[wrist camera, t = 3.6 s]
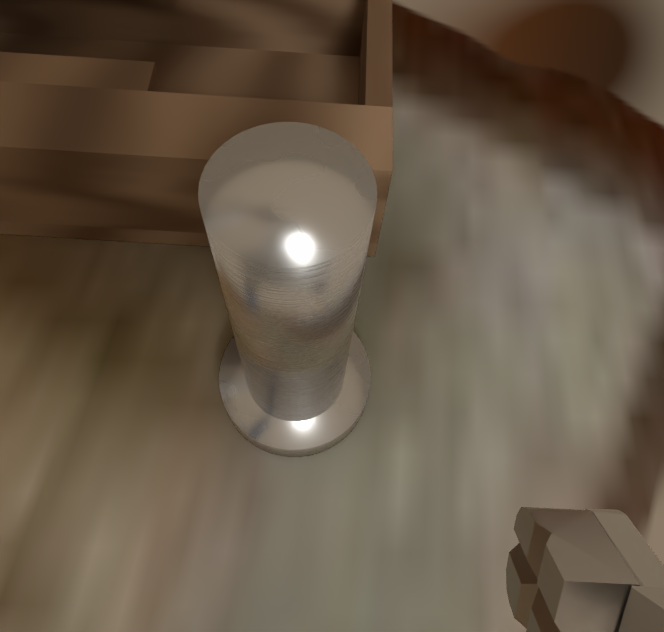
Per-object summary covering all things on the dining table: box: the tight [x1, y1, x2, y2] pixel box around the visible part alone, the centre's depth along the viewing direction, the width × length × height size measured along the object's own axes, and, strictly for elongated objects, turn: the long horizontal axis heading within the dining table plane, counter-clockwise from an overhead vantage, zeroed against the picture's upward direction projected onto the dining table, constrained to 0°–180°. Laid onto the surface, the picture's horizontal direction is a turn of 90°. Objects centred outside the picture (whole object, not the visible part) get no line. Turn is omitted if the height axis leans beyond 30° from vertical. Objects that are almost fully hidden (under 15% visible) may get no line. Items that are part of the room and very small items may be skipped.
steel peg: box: [198, 122, 377, 457], centre depth 17 cm, size 6×6×12 cm
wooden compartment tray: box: [0, 0, 393, 256], centre depth 25 cm, size 22×14×6 cm, turn 88°
